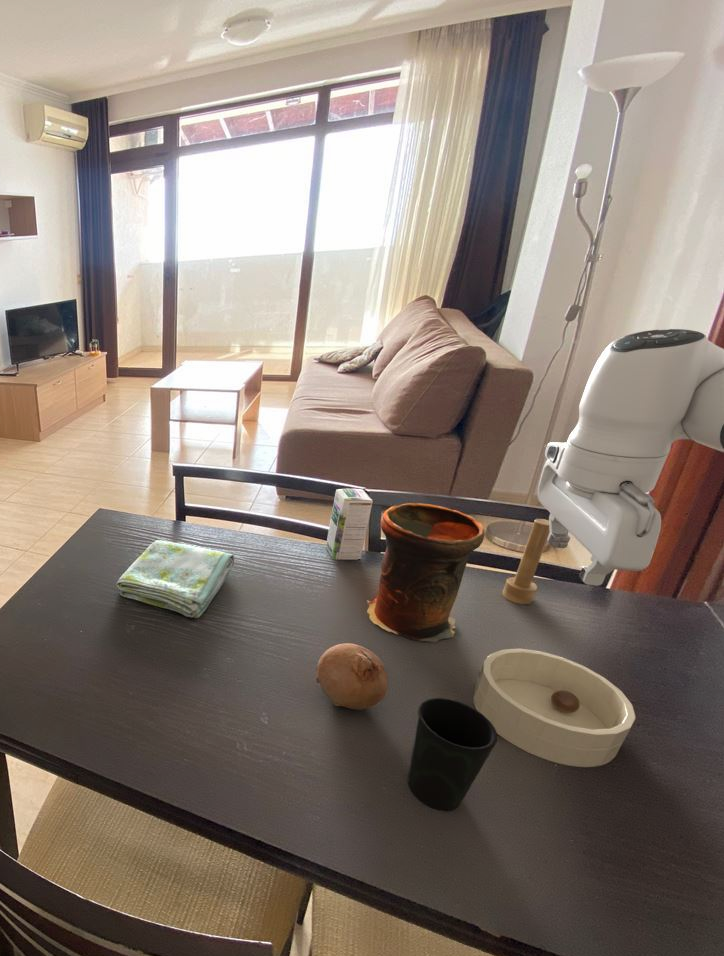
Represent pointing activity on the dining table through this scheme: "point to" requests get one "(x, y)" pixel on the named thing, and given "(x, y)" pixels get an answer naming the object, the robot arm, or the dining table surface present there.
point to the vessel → (423, 569)
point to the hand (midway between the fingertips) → (571, 562)
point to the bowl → (552, 707)
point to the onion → (352, 676)
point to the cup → (448, 752)
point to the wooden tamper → (528, 566)
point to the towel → (176, 577)
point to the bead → (565, 701)
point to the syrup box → (348, 524)
